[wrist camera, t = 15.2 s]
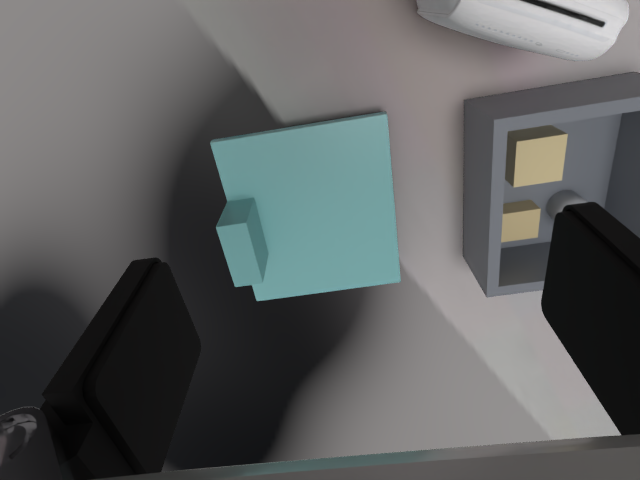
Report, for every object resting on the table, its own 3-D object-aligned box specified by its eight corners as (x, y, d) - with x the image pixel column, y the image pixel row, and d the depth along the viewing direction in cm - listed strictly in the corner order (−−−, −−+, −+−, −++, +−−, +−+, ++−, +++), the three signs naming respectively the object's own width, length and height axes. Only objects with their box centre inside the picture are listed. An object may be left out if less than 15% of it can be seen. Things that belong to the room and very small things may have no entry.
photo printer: (405, 16, 33) (448, 24, 22) (426, -47, 31) (485, -73, 20) (524, 53, 34) (618, 77, 24) (551, -6, 32) (668, -9, 22)
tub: (464, 99, 36) (494, 120, 30) (634, 71, 35) (700, 86, 29) (463, 256, 44) (486, 297, 38) (601, 237, 43) (648, 276, 37)
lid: (216, 134, 38) (195, 162, 31) (382, 107, 37) (397, 130, 30) (259, 287, 46) (250, 334, 40) (396, 268, 45) (410, 313, 38)
